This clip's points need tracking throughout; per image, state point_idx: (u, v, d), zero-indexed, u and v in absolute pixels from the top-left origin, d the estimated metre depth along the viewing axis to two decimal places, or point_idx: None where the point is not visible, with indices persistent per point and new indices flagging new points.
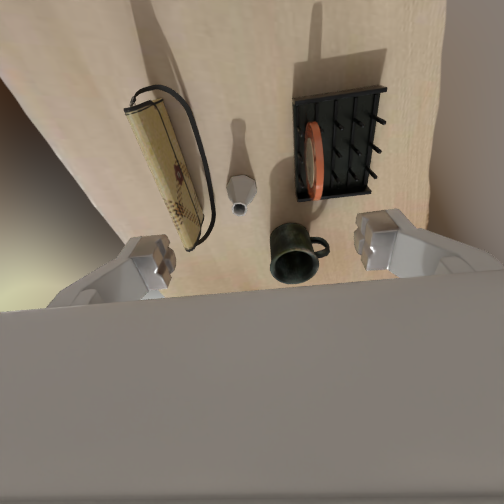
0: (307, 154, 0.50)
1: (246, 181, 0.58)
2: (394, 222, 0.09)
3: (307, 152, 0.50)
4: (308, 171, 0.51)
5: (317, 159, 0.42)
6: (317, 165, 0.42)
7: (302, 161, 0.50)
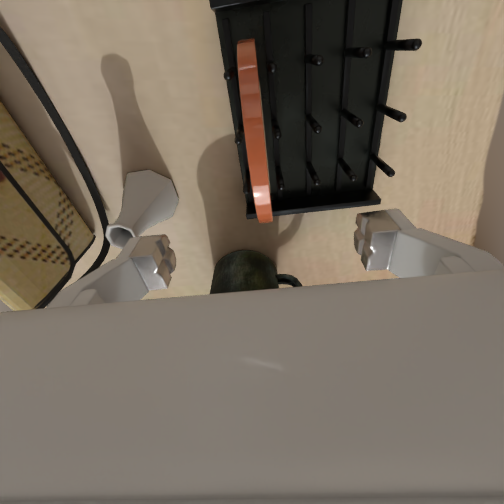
0: None
1: (152, 180, 0.32)
2: (394, 222, 0.09)
3: None
4: None
5: (246, 125, 0.16)
6: (248, 142, 0.16)
7: (238, 140, 0.24)
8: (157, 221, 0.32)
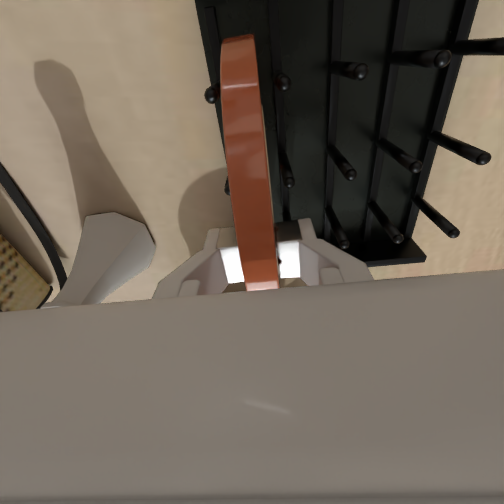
0: None
1: (118, 227, 0.24)
2: (300, 232, 0.10)
3: None
4: None
5: (238, 206, 0.08)
6: (241, 236, 0.08)
7: (229, 189, 0.16)
8: (125, 280, 0.24)
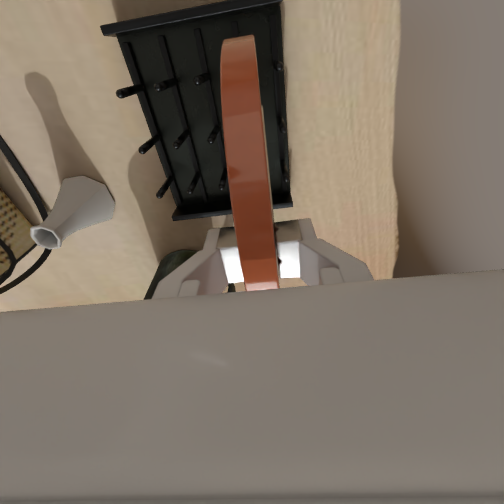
0: None
1: (85, 185, 0.34)
2: (300, 232, 0.10)
3: None
4: None
5: (238, 207, 0.08)
6: (241, 237, 0.08)
7: (141, 150, 0.26)
8: (91, 223, 0.35)
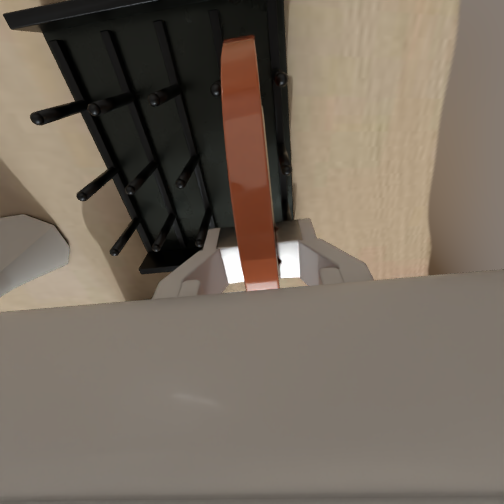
0: None
1: (25, 228, 0.26)
2: (300, 232, 0.10)
3: None
4: None
5: (238, 207, 0.08)
6: (241, 237, 0.08)
7: (79, 196, 0.18)
8: (34, 276, 0.27)
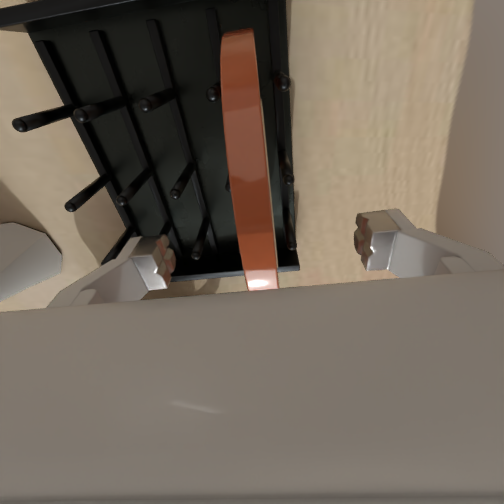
0: None
1: (15, 237, 0.25)
2: (394, 222, 0.09)
3: None
4: None
5: (236, 184, 0.08)
6: (238, 214, 0.08)
7: (68, 207, 0.17)
8: (24, 287, 0.26)
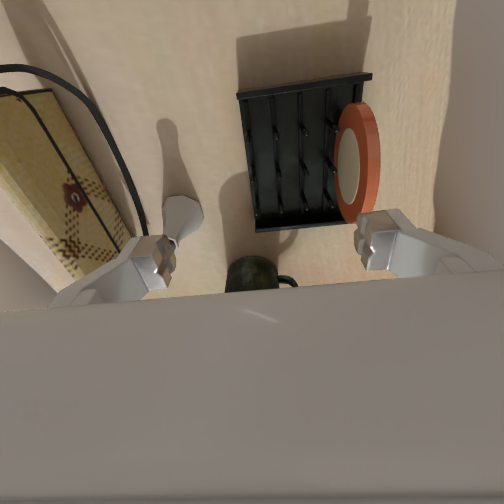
0: (342, 156, 0.34)
1: (186, 203, 0.43)
2: (394, 222, 0.09)
3: (342, 153, 0.34)
4: (343, 181, 0.34)
5: (369, 152, 0.25)
6: (369, 162, 0.25)
7: (252, 180, 0.35)
8: (188, 233, 0.43)
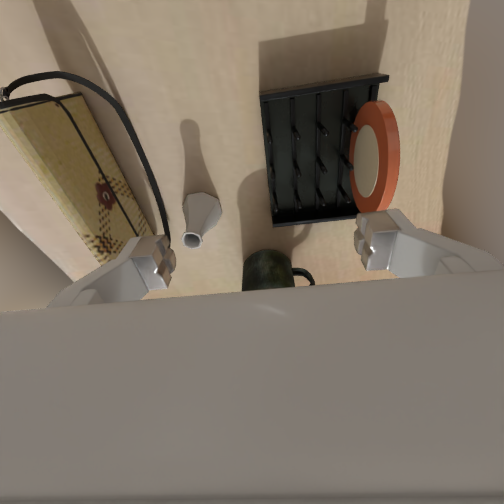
0: (358, 152, 0.36)
1: (206, 200, 0.45)
2: (394, 222, 0.09)
3: (358, 150, 0.35)
4: (360, 176, 0.36)
5: (390, 144, 0.27)
6: (390, 154, 0.27)
7: (273, 177, 0.37)
8: (209, 229, 0.45)
